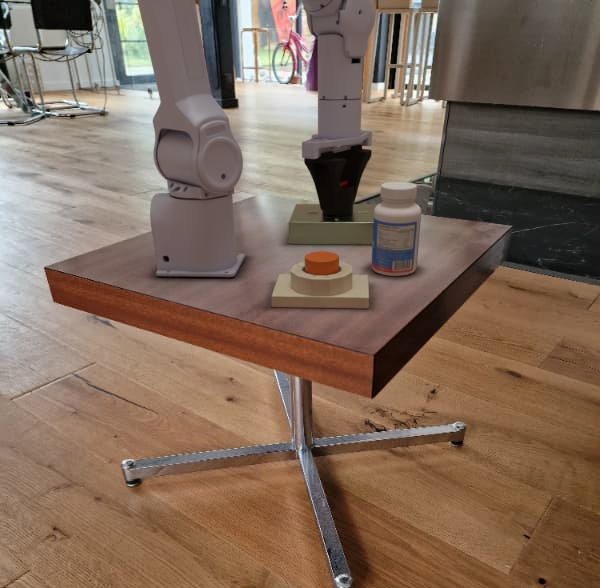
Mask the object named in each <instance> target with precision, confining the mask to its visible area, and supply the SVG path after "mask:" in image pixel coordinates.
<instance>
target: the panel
mask: <svg viewBox="0 0 600 588" xmlns="http://www.w3.org/2000/svg"><path fill="white" fill-rule="evenodd" d="M378 204H379V203H354V204H353V213H352V214H349V215H344V216H331V215H326V214H323V213H322V210H321V208H320V204H319V203H296V204H295V206H294V208H293V210H292V213H291V216H290V218H289V221H288V244H289V245H356V246H357V245H358V246H359V245H360V246H361V245H362V246H363V245H364V246H365V245H366V246H367V245H371V246H372V244H373V221H374V209H375V207H376V206H377V205H378Z"/></svg>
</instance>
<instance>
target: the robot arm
mask: <svg viewBox="0 0 600 588" xmlns="http://www.w3.org/2000/svg"><path fill="white" fill-rule="evenodd" d="M136 1H137V6H138V10H139V14H140V18H141V22H142V27H143V32H144V35H145V40H146V45H147V48H148V53H149V58H150V63H151V66H152V71H153V75H154V78H155V83H156V88H157V92H158V97H159V100H160V103H159V106H158V107H157V110H156V112H155V114H154V116H153V118H152V125H153V129H154V130H153V131H154V144H153V145H154V146H153V162H154V165H155V168H156V170H157V172H158V174H160V176H161V177H162V178H163V179H164V180H166V184H167V190H168V192H158V193H155V194H154V195H153V196H152V198H151V201H150V207H149V208H150V209H149V220H150V229H151V235H152V242H153V248H154V254H155V261H156V269H157V271H156V272H155V275H156V276H157V277H188V278H189V277H190V278H191V277H196V278H198V277H200V278H202V277H204V278H234V277H235V276H236V275H237V273H238V271H239V270H240V268H241V266H242V265H243V262H244V260H245V258H246V254H245V253H238V252H237V251H238V250H237V239H236V225H235V213H234V198H233V195H234V194H235V187H236V185H238V182H239V181H240V180H241V177H242V174H243V167H244V158H243V153H242V149H241V147H240V145H239V143H238V141H237V140H236V138H235V136H234V135H233V132H232V128H231V125H230V119H229V117H228V115H227V113H226V112H225V111H224V109H223V108H222V107H221V105H220V104H219V103H218V101H216V99H215V98H214V96H213V93H212V89H211V83H210V78H209V73H208V72H209V71H208V66H207V61H206V57H205V51H204V44H203V39H202V34H201V28H200V24H199V23H200V22H199V17H198V13H197V6H196V1H195V0H136ZM299 1H300V3H301V4H302V6H303V8H302V9H303V10H304V12H305V15H306V24H307V27H308V31H309V33H310V35H311V36H313V37H314V39H316V40H317V133H315V134H311V138H310V139H307V140H304V141H301V158H302V159H303V162H304V165H305V166H306V168H307V170H308V173H309V174H310V176H311V178H312V181H313V185H314V188H315V190H316V194H317V195H316V196H317V199H318V204H320V208H321V210H325V211H335V210H336V206H337V200H338V190H339V183H340V182H343V181H348V184H352V185H353V186H354V200H353V204H355V201H356V198H357V194H358V191H359V187H360V183H361V180H362V176H363V174H364V171H365V169H366V167H367V165H368V163H369V161H370V160H371V158H372V154H373V153H372V149H367V148H363V147H370V146H373V131H372V130H365V129H364V130H363V129H362V103H363V101H362V100H363V77H364V76H363V74H364V57H366V54H367V52H368V46H369V45H368V44H369V38H370V35H371V34H372V31H373V30H374V27H375V24H376V23H375V22H376V16H377V12H376V11H374V5H373V4H374V3H373V0H299Z"/></svg>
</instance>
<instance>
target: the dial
mask: <svg viewBox="0 0 600 588" xmlns="http://www.w3.org/2000/svg"><path fill="white" fill-rule="evenodd" d="M353 200H354V186H353V185H352V184H348V181H343V182H340V183H339V190H338V200H337V206H336V210H335V211H325V210H322V213H323V214H326V215H331V216H344V215H349V214H352V213H353Z"/></svg>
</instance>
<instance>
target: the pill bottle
mask: <svg viewBox="0 0 600 588" xmlns="http://www.w3.org/2000/svg"><path fill="white" fill-rule="evenodd" d="M379 195H380V196H379V197H380V199H381V201H382V202H380V203H377V204H378V205H377V206H376V207H375V209H374V221H373V244H372V245H371V247H372V248H371V269H372V270H373V272H375V273H377V274H379V275H383V276H388V277H402V276H407V275H410V274H413V273H414V272H416V270H417V267H418V257H419V245H420V232H421V222H422V208H421V207H420V206H419V204H417V203H416V202H415V200H417V195H418V185H417V184H416V183H413V182H409V181H389V182H383V183H381V185H380V193H379Z"/></svg>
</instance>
